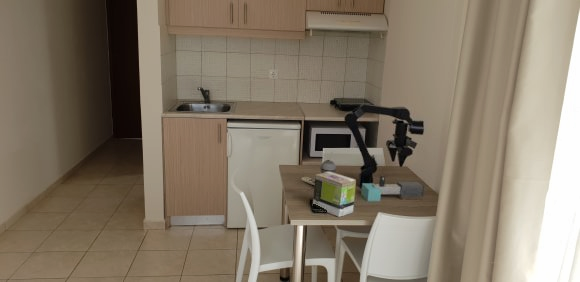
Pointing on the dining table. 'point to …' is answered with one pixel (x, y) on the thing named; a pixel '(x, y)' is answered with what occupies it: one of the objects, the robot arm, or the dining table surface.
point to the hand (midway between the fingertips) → (396, 164)
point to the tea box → (334, 193)
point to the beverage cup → (328, 166)
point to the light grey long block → (387, 187)
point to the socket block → (370, 192)
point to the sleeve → (411, 190)
